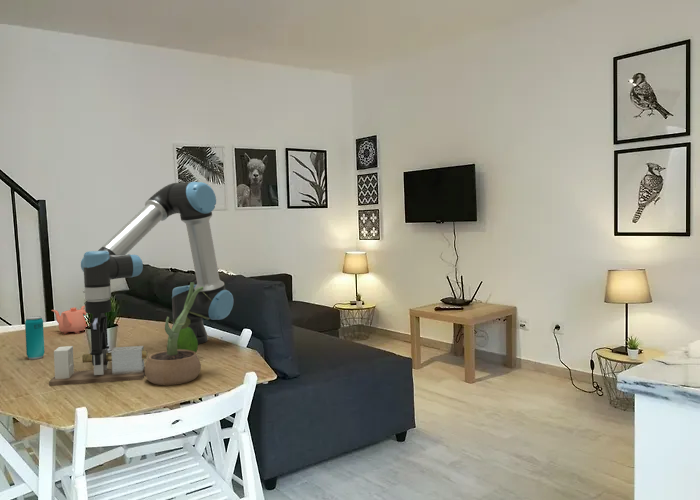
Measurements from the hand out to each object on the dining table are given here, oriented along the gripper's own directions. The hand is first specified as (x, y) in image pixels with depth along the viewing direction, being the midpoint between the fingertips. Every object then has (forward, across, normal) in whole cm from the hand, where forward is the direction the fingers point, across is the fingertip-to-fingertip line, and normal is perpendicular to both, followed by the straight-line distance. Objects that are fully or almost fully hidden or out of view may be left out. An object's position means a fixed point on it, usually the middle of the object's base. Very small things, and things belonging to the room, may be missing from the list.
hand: (100, 372), depth 181 cm
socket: (+2, 0, -11) cm, 11 cm away
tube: (-2, 0, +5) cm, 5 cm away
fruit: (+2, -17, +25) cm, 31 cm away
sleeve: (+1, 0, +8) cm, 8 cm away
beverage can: (+2, -33, -29) cm, 44 cm away
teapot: (+2, -80, -28) cm, 85 cm away
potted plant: (+2, +6, +25) cm, 26 cm away
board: (+2, 0, 0) cm, 2 cm away
